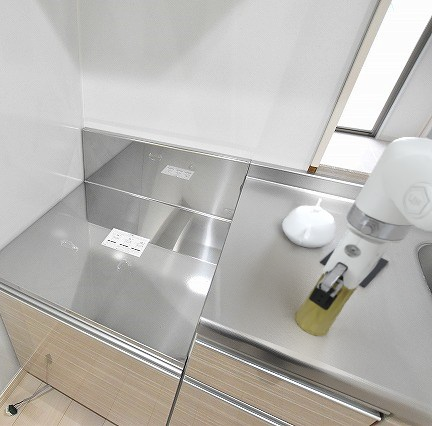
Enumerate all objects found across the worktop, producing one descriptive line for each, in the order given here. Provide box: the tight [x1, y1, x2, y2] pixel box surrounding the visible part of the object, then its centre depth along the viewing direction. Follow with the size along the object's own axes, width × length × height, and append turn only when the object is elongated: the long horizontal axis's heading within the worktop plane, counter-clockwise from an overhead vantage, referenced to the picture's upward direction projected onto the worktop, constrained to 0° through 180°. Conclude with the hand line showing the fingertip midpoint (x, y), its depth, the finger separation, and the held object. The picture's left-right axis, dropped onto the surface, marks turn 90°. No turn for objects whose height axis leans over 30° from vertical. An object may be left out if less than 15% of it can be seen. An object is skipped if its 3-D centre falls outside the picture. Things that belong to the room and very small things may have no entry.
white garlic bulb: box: [281, 197, 336, 249], centre depth 80 cm, size 20×12×10 cm, turn 142°
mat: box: [319, 248, 389, 289], centre depth 74 cm, size 10×14×1 cm
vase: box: [294, 272, 359, 337], centre depth 57 cm, size 6×6×14 cm
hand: (330, 291), depth 55 cm, fingers open, 9 cm apart
